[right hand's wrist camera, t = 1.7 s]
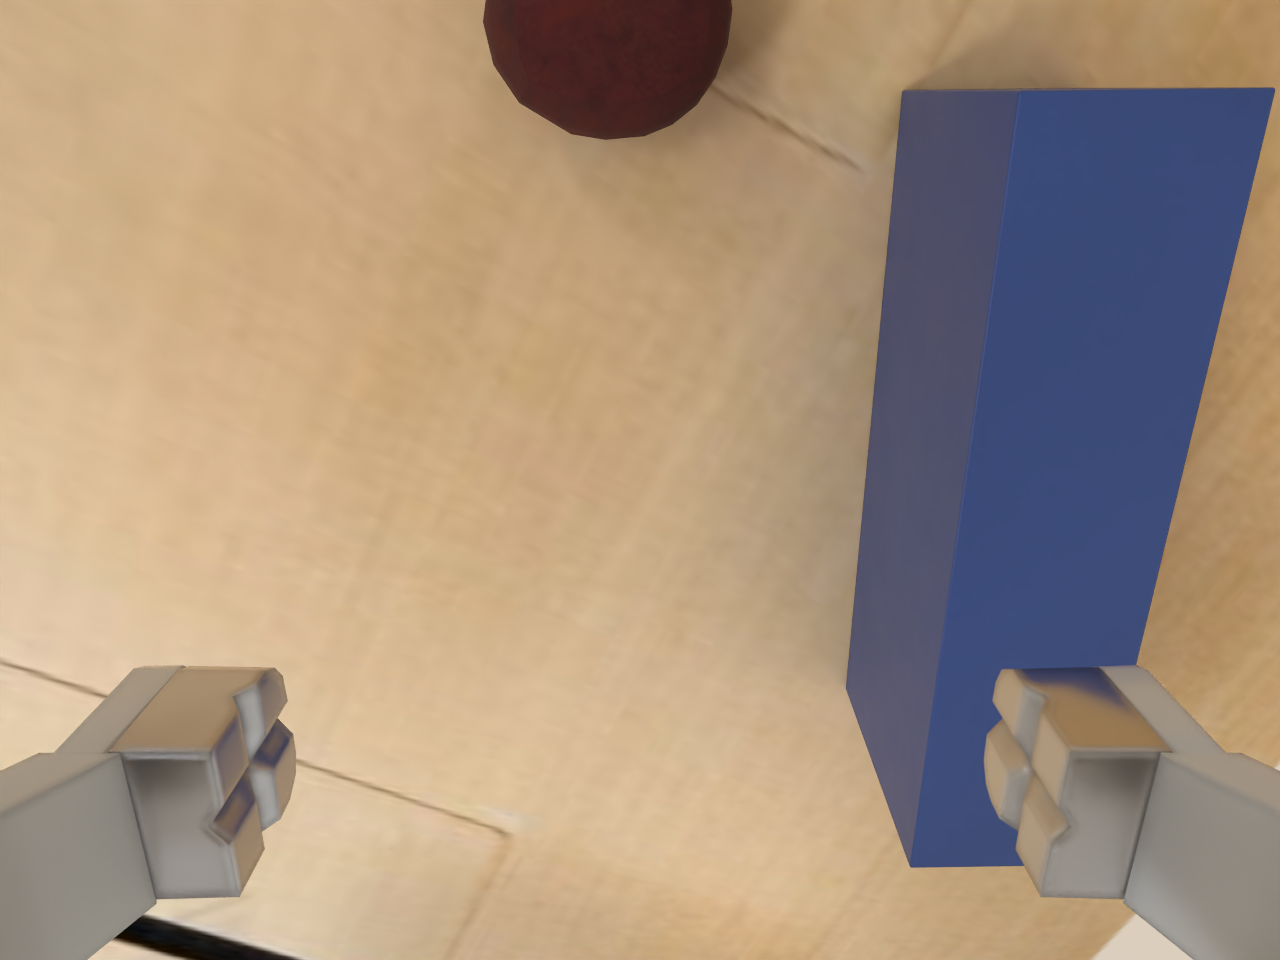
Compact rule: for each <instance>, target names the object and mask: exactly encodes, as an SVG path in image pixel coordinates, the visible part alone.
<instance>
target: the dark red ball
mask: <svg viewBox="0 0 1280 960" xmlns="http://www.w3.org/2000/svg"><path fill="white" fill-rule="evenodd" d="M731 15H732V4H731V0H486V3H485V11H484V20H483V23H484V27H485V31H486V35H487V40H488V44H489V48H490V52H491V56H492V60H493V64H494V66H495V68H496V69H497V71H498V72H499V74H500V75H501V76H502V78H503V79H504V81H505V82H506V84H507V85H508V87H509V88H510V90H511V91H512V93H513V94H514V96H515V97H516V99H517V100H518V101H519V103H521V104H522V105H524V106H526V107H527V108H529V109H531V110H532V111H534V112H536V113H537V114H539V115H541V116H542V117H544V118H546V119H547V120H549V121H551V122H552V123H554V124H556V125H557V126H559V127H561V128H562V129H564V130H566V131H567V132H569V133H571V134H574V135H580V136H586V137H593V138H599V139H605V140H607V139H618V138H629V137H640V136H646V135H648V134H650V133H653V132H655V131H658V130H660V129H663V128H665V127H667V126H670V125H672V124H674V123H675V122H676V121H677V120H679V119H680V118H681V117H682V116H683V115H685V114H686V113H687V112H688V111H690V110H691V109H692V108H693V107H694V106H696V105H697V104H698V102H699V101H700V99H701V98H702V96H703V95H704V93H705V92H706V91H707V89H708V88H709V86H710V85H711V83H712V82H713V80H714V79H715V77H716V74H717V72H718V69H719V66H720V64H721V61H722V58H723V56H724V53H725V50H726V48H727V44H728V37H729V29H730V22H731Z"/></svg>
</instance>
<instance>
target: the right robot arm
mask: <svg viewBox="0 0 1280 960" xmlns="http://www.w3.org/2000/svg"><path fill="white" fill-rule="evenodd" d="M287 701H288V700H287V695H286V690H285V686H284V681H283V676H282V675H281V674H280V673H279V672H278V671H277V670H276V669H275V668H263V667H213V666H188V667H185V666H183V665H182V666H144V667H139V668H135V669H133V670H132V671H131V672H130V673H129V674H128V675H127V676H126V677H125V679H124V680H123V681H122V682H121V683H120V684H119V685H118V686H117V687H116V688H115V689H114V690H113V691H112V692H111V693H110V694H109V695H108V696H107V697H106V699H105V700H104V701H103V702H102V703H101V704H100V705H99V706H98V707H97V708H96V709H95V710H94V711H93V712H92V713H91V714H90V715H89V716H88V717H87V719H86V720H85V721H84V722H83V723H82V724H81V725H80V726H79V727H78V728H77V729H76V730H75V731H74V732H73V733H72V734H71V735H70V736H69V737H68V739H67V740H66V741H65V742H64V743H63V744H62V745H61V746H60V747H59V748H58V749H57V750H56V751H55V752H54V753H38V754H36V755H34V756H32V757H29V758H27V759H25V760H23V761H21V762H19V763H17V764H14V765H12V766H10V767H8V768H6V769H4V770H2V771H0V960H87V959H88V958H90V957H91V956H92V955H93V954H95V953H96V952H97V951H98V950H99V949H101V948H102V947H103V946H104V945H106V944H107V943H108V942H109V941H111V940H112V939H113V938H114V937H116V936H117V935H118V934H119V933H121V932H122V931H123V930H124V929H126V928H127V927H128V926H129V925H130V924H132V923H133V922H134V921H135V920H137V919H138V918H139V917H140V916H142V915H143V914H144V913H145V912H147V911H148V910H149V909H150V908H152V907H153V906H154V905H155V904H156V899H181V898H216V897H240V895H241V893H242V891H243V889H244V887H245V885H246V883H247V881H248V880H249V878H250V876H251V874H252V872H253V870H254V868H255V866H256V864H257V863H258V861H259V859H260V857H261V855H262V853H263V851H264V849H265V848H264V843H263V837H262V831H263V830H265V829H266V828H268V827H269V826H271V825H272V824H274V823H275V822H277V821H278V820H280V819H281V817H282V815H283V812H284V810H285V808H286V806H287V804H288V802H289V800H290V797H291V792H292V788H293V783H294V779H295V774H296V750H295V744H294V737H293V734H292V733H291V732H290V731H289V730H288V729H287V728H286V726H285V725H284V724H283V723H282V722H281V721H280V720H279V719H278V716H279V714H280V713H281V711H282V709H283V708H284V706H285V704H286V703H287ZM992 701H993V703H994V704H995V706H996V708H997V709H998V711H999V713H1000V714H1001V716H1002V719H1001V720H1000V721H999V722H998V723H997V724H996V726H995V727H994V728H993V729H992V730H991V731H990V732H989V733H988V734H987V738H986V746H985V754H984V768H985V779H986V786H987V789H988V793H989V796H990V799H991V802H992V804H993V806H994V808H995V810H996V812H997V815H998V817H999V819H1000V820H1002V821H1003V822H1005V823H1006V824H1008V825H1009V826H1011V827H1012V828H1014V829H1015V830H1017V831H1018V837H1017V843H1016V851H1017V853H1018V855H1019V857H1020V859H1021V861H1022V862H1023V864H1024V866H1025V868H1026V870H1027V872H1028V874H1029V876H1030V877H1031V879H1032V881H1033V883H1034V885H1035V887H1036V889H1037V891H1038V893H1039V894H1040V896H1041V897H1062V898H1098V899H1124V902H1123V903H1124V904H1125V905H1126V906H1128V907H1129V908H1130V909H1131V910H1133V911H1134V912H1135V913H1136V914H1138V915H1139V916H1140V917H1141V918H1143V919H1144V920H1145V921H1146V922H1147V923H1149V924H1150V925H1151V926H1152V927H1154V928H1155V929H1156V930H1157V931H1159V932H1160V933H1161V934H1162V935H1164V936H1165V937H1166V938H1167V939H1168V940H1170V941H1171V942H1172V943H1173V944H1175V945H1176V946H1177V947H1178V948H1180V949H1181V950H1182V951H1183V952H1185V953H1186V954H1187V955H1188V956H1190V957H1191V958H1192V959H1193V960H1280V771H1278V770H1276V769H1274V768H1272V767H1270V766H1268V765H1266V764H1263V763H1261V762H1259V761H1257V760H1255V759H1253V758H1251V757H1249V756H1246V755H1244V754H1242V753H1226V752H1225V751H1224V750H1223V749H1222V748H1221V747H1220V746H1219V745H1218V744H1217V743H1216V742H1215V740H1214V739H1213V738H1212V737H1211V736H1210V735H1209V734H1208V733H1207V732H1206V731H1205V730H1204V729H1203V728H1202V727H1201V726H1200V725H1199V724H1198V723H1197V722H1196V720H1195V719H1194V718H1193V717H1192V716H1191V715H1190V714H1189V713H1188V712H1187V711H1186V710H1185V709H1184V708H1183V707H1182V706H1181V705H1180V704H1179V703H1178V701H1177V700H1176V699H1175V698H1174V697H1173V696H1172V695H1171V694H1170V693H1169V692H1168V691H1167V690H1166V689H1165V688H1164V687H1163V686H1162V685H1161V684H1160V683H1159V681H1158V680H1157V679H1156V678H1155V677H1154V676H1153V675H1152V674H1151V673H1150V672H1149V671H1148V670H1146V669H1144V668H1142V667H1139V666H1137V665H1125V666H1098V667H1075V668H1033V669H1002V670H1001V672H1000V674H999V676H998V678H997V680H996V684H995V689H994V695H993V700H992Z"/></svg>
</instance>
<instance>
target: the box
mask: <svg viewBox="0 0 1280 960" xmlns="http://www.w3.org/2000/svg"><path fill="white" fill-rule="evenodd" d="M1274 93H1275V89H1274V88H1047V89H961V90H904V91H903V92H902V100H901V111H900V121H899V132H898V142H897V153H896V164H895V174H894V185H893V195H892V206H891V217H890V227H889V238H888V248H887V259H886V270H885V280H884V291H883V301H882V312H881V323H880V333H879V344H878V354H877V365H876V376H875V386H874V397H873V407H872V418H871V429H870V439H869V450H868V460H867V471H866V482H865V492H864V503H863V513H862V524H861V535H860V545H859V556H858V566H857V577H856V588H855V598H854V609H853V619H852V630H851V641H850V651H849V662H848V672H847V683H846V690H847V693H848V696H849V698H850V701H851V704H852V707H853V709H854V712H855V715H856V718H857V721H858V723H859V726H860V729H861V732H862V734H863V737H864V740H865V743H866V746H867V748H868V751H869V754H870V757H871V759H872V762H873V765H874V768H875V771H876V773H877V776H878V779H879V782H880V785H881V787H882V790H883V793H884V796H885V798H886V801H887V804H888V807H889V810H890V812H891V815H892V818H893V821H894V823H895V826H896V829H897V832H898V835H899V837H900V840H901V843H902V846H903V849H904V851H905V854H906V857H907V860H908V862H909V865H910V867H912V868H915V867H979V866H1024V864H1023V862H1022V861H1021V859H1020V857H1019V855H1018V853H1017V851H1016V843H1017V837H1018V831H1017V830H1015V829H1014V828H1012V827H1011V826H1009V825H1008V824H1006V823H1005V822H1003V821H1002V820H1000V819H999V817H998V815H997V812H996V810H995V808H994V806H993V804H992V802H991V799H990V796H989V793H988V789H987V786H986V779H985V768H984V754H985V746H986V738H987V734H988V733H989V732H990V731H991V730H992V729H993V728H994V727H995V726H996V724H997V723H998V722H999V721H1000V720H1001V719H1002V716H1001V714H1000V713H999V711H998V709H997V708H996V706H995V704H994V703H993V701H992V700H993V695H994V689H995V684H996V680H997V678H998V676H999V674H1000V672H1001V670H1002V669H1033V668H1075V667H1098V666H1125V665H1136V663H1137V659H1138V654H1139V650H1140V646H1141V642H1142V638H1143V634H1144V630H1145V626H1146V621H1147V617H1148V613H1149V609H1150V605H1151V601H1152V597H1153V593H1154V588H1155V584H1156V580H1157V576H1158V572H1159V568H1160V564H1161V560H1162V555H1163V551H1164V547H1165V543H1166V539H1167V535H1168V531H1169V526H1170V522H1171V518H1172V514H1173V510H1174V506H1175V502H1176V498H1177V493H1178V489H1179V485H1180V481H1181V477H1182V473H1183V469H1184V465H1185V460H1186V456H1187V452H1188V448H1189V444H1190V440H1191V436H1192V432H1193V427H1194V423H1195V419H1196V415H1197V411H1198V407H1199V403H1200V399H1201V394H1202V390H1203V386H1204V382H1205V378H1206V374H1207V370H1208V366H1209V361H1210V357H1211V353H1212V349H1213V345H1214V341H1215V337H1216V333H1217V328H1218V324H1219V320H1220V316H1221V312H1222V308H1223V304H1224V300H1225V295H1226V291H1227V287H1228V283H1229V279H1230V275H1231V271H1232V267H1233V262H1234V258H1235V254H1236V250H1237V246H1238V242H1239V238H1240V234H1241V229H1242V225H1243V221H1244V217H1245V213H1246V209H1247V205H1248V200H1249V196H1250V192H1251V188H1252V184H1253V180H1254V176H1255V172H1256V167H1257V163H1258V159H1259V155H1260V151H1261V147H1262V143H1263V139H1264V134H1265V130H1266V126H1267V122H1268V118H1269V114H1270V110H1271V106H1272V101H1273V97H1274Z"/></svg>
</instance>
